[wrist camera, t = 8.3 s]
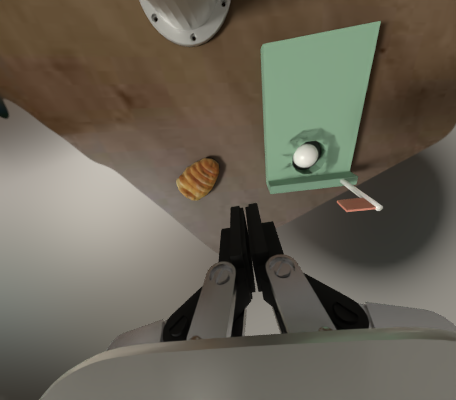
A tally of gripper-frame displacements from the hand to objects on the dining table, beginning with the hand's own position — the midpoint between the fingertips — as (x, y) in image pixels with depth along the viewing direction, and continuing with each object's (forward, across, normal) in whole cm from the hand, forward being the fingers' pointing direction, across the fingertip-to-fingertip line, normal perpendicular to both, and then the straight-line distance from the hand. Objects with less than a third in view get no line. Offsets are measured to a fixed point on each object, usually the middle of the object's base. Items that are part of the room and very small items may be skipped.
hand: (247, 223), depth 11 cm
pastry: (+25, +10, +6) cm, 28 cm away
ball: (+22, -11, +4) cm, 26 cm away
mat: (+25, -12, -1) cm, 28 cm away
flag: (+25, -15, +9) cm, 30 cm away
